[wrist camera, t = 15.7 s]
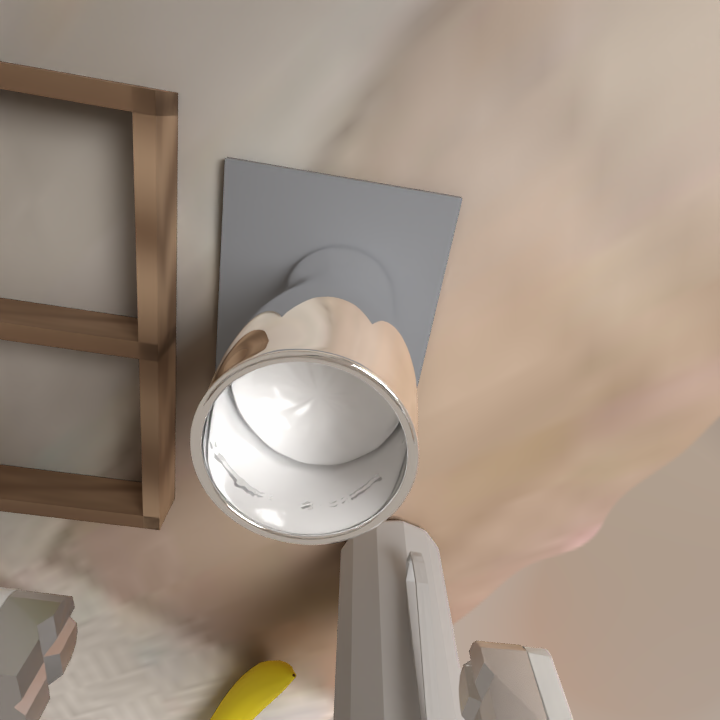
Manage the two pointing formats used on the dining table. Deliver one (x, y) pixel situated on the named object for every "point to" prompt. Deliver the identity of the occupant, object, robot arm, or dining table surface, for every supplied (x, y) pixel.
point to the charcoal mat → (329, 241)
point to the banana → (255, 691)
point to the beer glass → (313, 408)
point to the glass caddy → (114, 316)
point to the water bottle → (395, 629)
